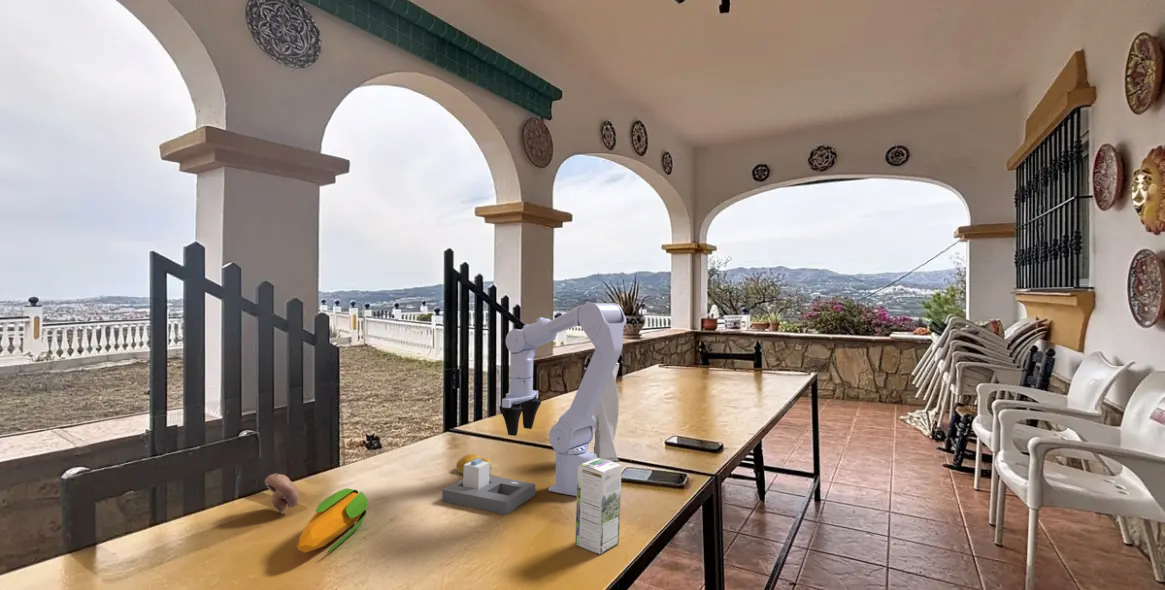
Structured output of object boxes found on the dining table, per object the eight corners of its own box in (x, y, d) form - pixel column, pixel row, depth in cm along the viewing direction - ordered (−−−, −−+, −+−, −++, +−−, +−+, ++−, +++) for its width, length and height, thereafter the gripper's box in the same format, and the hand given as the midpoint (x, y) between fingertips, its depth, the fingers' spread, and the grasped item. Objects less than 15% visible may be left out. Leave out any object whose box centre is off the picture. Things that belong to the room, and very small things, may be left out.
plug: (488, 494, 117) (489, 458, 117) (478, 500, 113) (478, 463, 113) (473, 491, 118) (474, 456, 118) (462, 496, 115) (463, 461, 115)
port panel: (535, 494, 117) (535, 483, 117) (506, 514, 106) (506, 501, 106) (475, 483, 123) (475, 472, 123) (442, 501, 112) (442, 488, 112)
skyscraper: (585, 454, 148) (587, 355, 148) (612, 452, 151) (613, 355, 151) (594, 463, 140) (596, 358, 140) (623, 461, 143) (624, 358, 143)
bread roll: (474, 479, 126) (474, 463, 126) (451, 471, 132) (451, 455, 132) (499, 471, 133) (500, 455, 133) (476, 464, 138) (476, 448, 138)
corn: (376, 478, 103) (325, 521, 83) (377, 517, 103) (327, 569, 83) (338, 480, 103) (279, 523, 83) (340, 519, 103) (281, 571, 83)
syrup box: (594, 534, 97) (596, 456, 98) (620, 544, 94) (622, 463, 94) (574, 545, 93) (576, 463, 93) (601, 556, 89) (602, 470, 89)
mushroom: (264, 508, 106) (265, 468, 106) (298, 503, 109) (299, 465, 109) (262, 522, 100) (263, 480, 100) (298, 517, 103) (299, 476, 103)
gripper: (522, 372, 139) (521, 423, 139) (491, 379, 126) (490, 436, 126) (545, 374, 137) (544, 426, 136) (517, 382, 123) (515, 439, 123)
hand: (520, 431), depth 131 cm, fingers open, 7 cm apart
